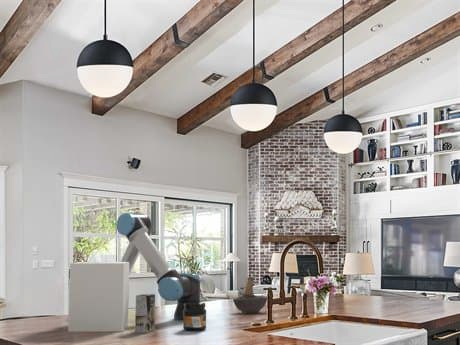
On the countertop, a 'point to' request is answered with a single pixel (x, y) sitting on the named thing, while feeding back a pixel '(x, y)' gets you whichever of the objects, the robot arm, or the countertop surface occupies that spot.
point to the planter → (250, 300)
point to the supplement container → (194, 316)
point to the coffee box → (145, 313)
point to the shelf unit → (98, 296)
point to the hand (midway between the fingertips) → (105, 274)
